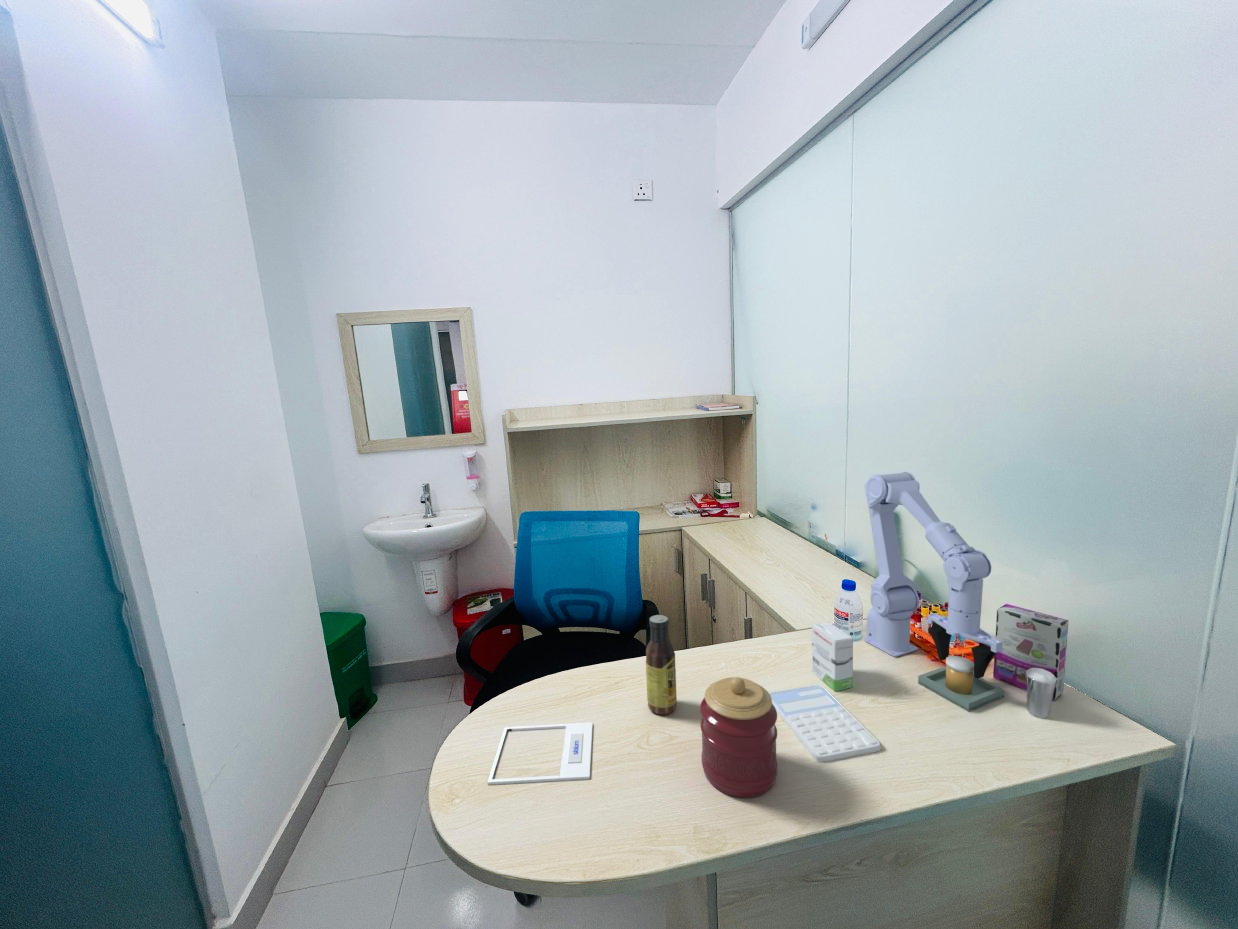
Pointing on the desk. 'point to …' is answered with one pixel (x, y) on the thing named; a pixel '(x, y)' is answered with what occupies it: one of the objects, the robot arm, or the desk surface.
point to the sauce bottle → (660, 668)
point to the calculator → (823, 724)
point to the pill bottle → (959, 674)
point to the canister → (739, 737)
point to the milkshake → (1040, 691)
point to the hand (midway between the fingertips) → (960, 667)
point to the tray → (980, 694)
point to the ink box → (832, 656)
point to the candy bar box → (1029, 646)
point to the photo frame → (573, 755)
